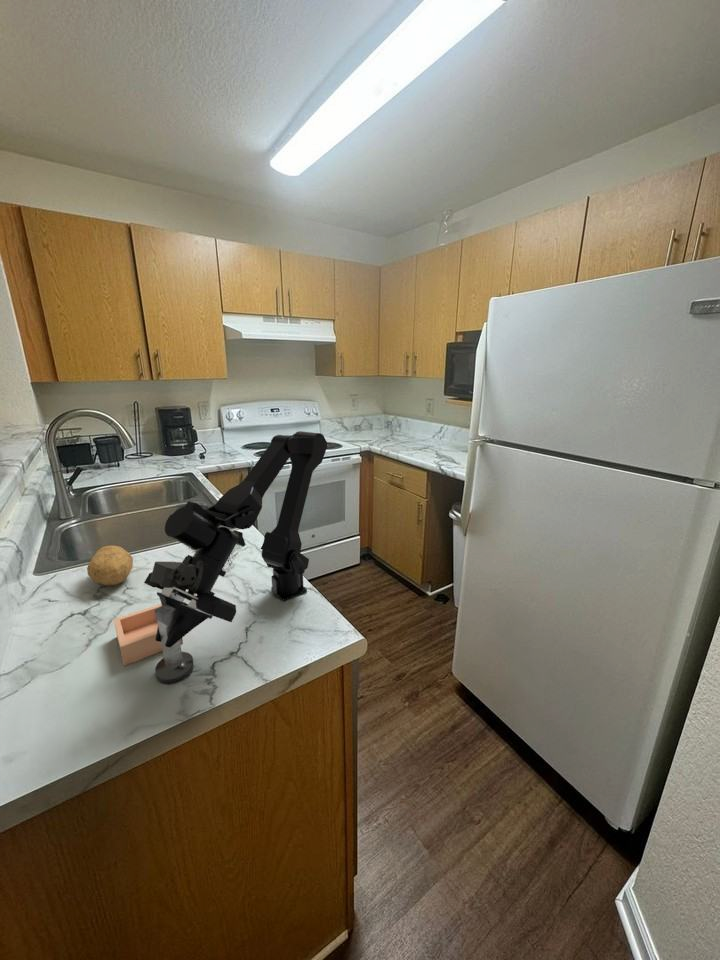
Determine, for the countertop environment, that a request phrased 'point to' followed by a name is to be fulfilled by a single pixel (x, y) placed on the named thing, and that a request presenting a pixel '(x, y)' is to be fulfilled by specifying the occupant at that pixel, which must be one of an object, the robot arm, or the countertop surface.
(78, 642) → the countertop surface
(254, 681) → the countertop surface
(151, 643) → the peach square open box
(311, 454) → the robot arm
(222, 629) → the countertop surface
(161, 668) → the grey stamp
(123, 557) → the potato
